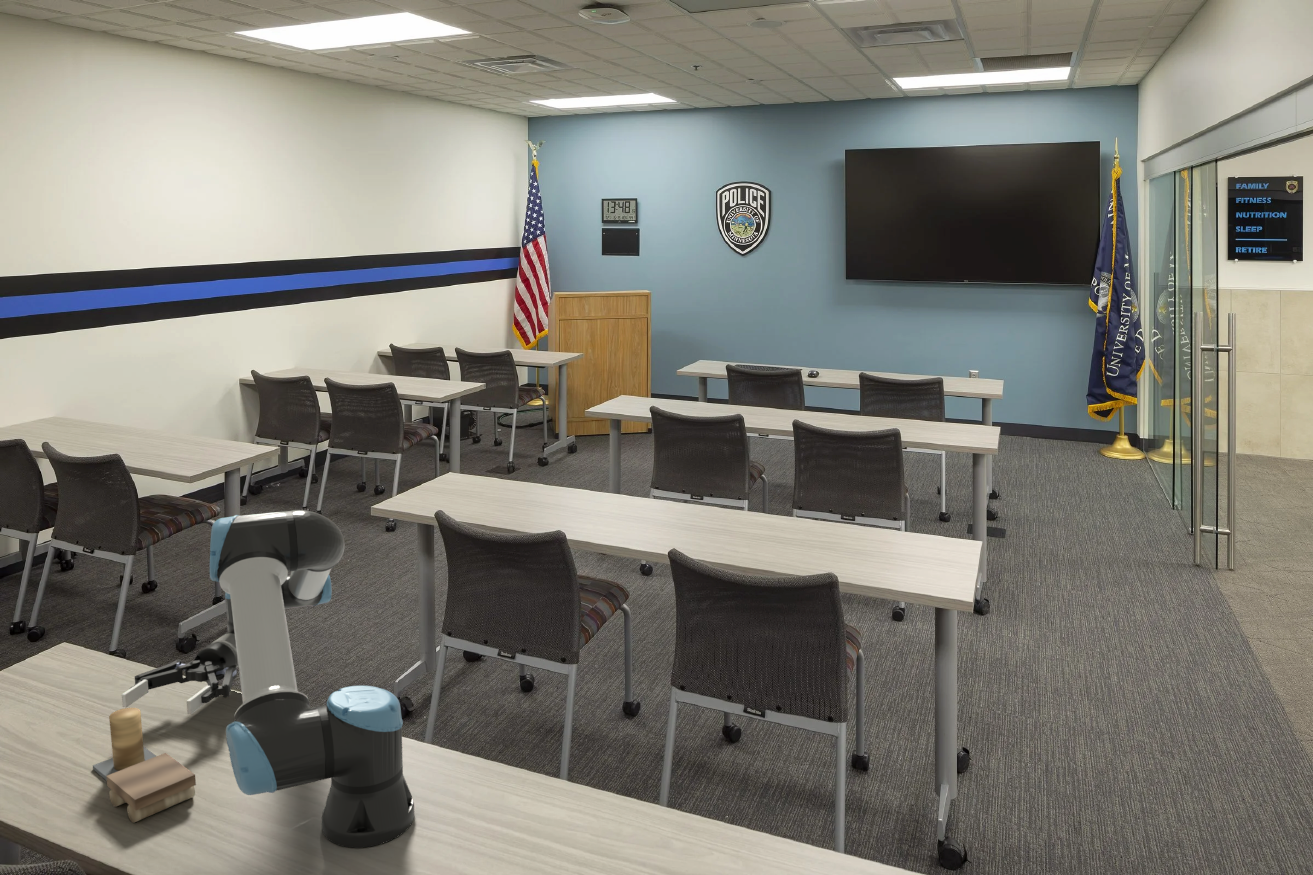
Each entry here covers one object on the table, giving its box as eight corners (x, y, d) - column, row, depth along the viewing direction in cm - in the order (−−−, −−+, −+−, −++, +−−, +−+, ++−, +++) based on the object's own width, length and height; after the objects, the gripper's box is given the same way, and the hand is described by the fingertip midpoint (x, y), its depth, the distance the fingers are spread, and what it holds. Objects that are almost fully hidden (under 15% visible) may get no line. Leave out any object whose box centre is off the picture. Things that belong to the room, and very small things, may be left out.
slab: (197, 800, 162) (195, 774, 162) (137, 826, 155) (134, 799, 154) (167, 777, 169) (165, 752, 168) (108, 801, 161) (106, 775, 160)
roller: (149, 762, 172) (145, 713, 170) (121, 774, 168) (116, 723, 166) (137, 753, 175) (132, 704, 173) (109, 764, 171) (104, 714, 169)
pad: (165, 766, 173) (165, 762, 172) (114, 787, 166) (113, 783, 165) (143, 749, 178) (143, 745, 178) (92, 769, 171) (92, 765, 171)
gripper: (276, 679, 198) (217, 728, 178) (169, 668, 201) (98, 715, 181) (274, 646, 197) (214, 691, 176) (166, 636, 200) (95, 680, 179)
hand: (156, 704), depth 178 cm, fingers open, 13 cm apart
